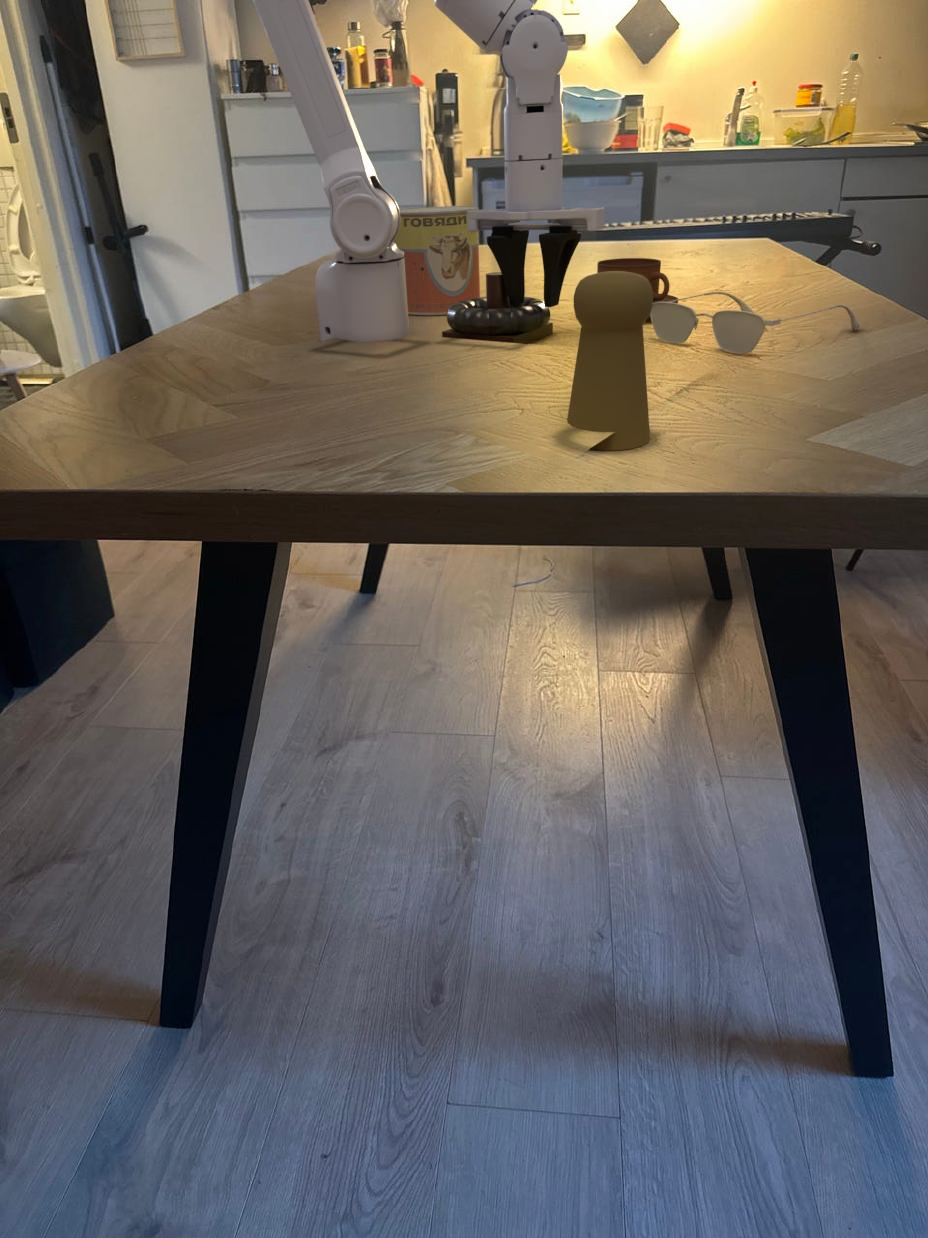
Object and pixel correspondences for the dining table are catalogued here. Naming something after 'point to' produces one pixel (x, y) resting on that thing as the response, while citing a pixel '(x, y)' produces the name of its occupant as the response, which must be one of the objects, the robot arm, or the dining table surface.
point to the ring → (497, 317)
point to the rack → (499, 300)
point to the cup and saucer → (644, 268)
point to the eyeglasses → (719, 324)
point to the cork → (611, 359)
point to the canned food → (438, 258)
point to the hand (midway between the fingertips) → (534, 304)
